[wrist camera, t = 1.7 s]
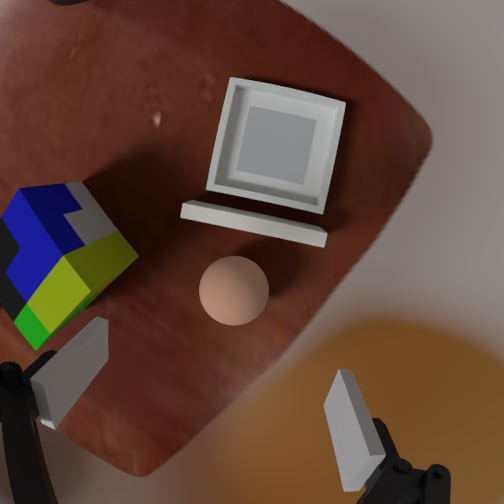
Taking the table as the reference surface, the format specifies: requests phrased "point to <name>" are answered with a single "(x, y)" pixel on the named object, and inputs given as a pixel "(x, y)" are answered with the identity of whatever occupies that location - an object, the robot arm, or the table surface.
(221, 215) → the low wall
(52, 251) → the puzzle toy
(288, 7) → the table surface
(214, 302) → the ball
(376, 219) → the table surface
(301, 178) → the light gray square tray
